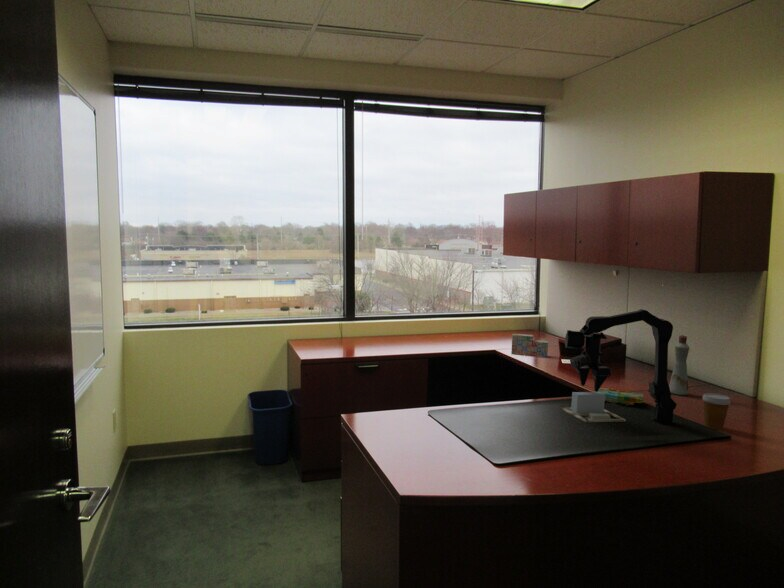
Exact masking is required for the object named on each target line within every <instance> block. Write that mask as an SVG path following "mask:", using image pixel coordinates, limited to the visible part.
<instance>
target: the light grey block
mask: <svg viewBox="0 0 784 588" xmlns="http://www.w3.org/2000/svg"><path fill="white" fill-rule="evenodd" d="M605 403H606V402H605V394H603V393H601V392H594V391H572V393H571V405H570V407H571V410H570V411H571V412H573V413H575V414H576V413H605V412H604V409H605Z"/></svg>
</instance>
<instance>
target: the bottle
mask: <svg viewBox="0 0 784 588" xmlns="http://www.w3.org/2000/svg"><path fill="white" fill-rule="evenodd" d="M687 340H688V336H686V335H684V334H681V335H678V342H677V343H676V344H675V346H674V353H675V355H674V356H675V361H674V365H673V369H672V373H671V377H670V381H669V383H668V384H669V387H670V393H671V394H673V395H676V394H677V396H683V395H686V396H687V395H688V394H689V379H688V378H689V377H688V365H687V359H688V355H689V352H690V346H689V345H688V344H687Z"/></svg>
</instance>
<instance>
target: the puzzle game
mask: <svg viewBox="0 0 784 588" xmlns="http://www.w3.org/2000/svg"><path fill="white" fill-rule="evenodd" d="M593 392H595V389H594V390H593ZM598 392H601V393H603V394H605V401H609V402H617V403H624V404H631V405H633V406H634V404H643V403H644V397H645V394H644V393H639V392H632V391H626V390H621V389H616V388H613V387H611V388H607V387H606V388H605V387H600V389H599V390H598Z"/></svg>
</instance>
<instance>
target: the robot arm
mask: <svg viewBox="0 0 784 588" xmlns="http://www.w3.org/2000/svg"><path fill="white" fill-rule="evenodd" d="M642 321H643V322H644V323H645V324H647V325H649V326H651V330H652V336H653V338H654V341H655V343H654V344H655V347H654V350H655V351H654V352H655V353H654V376H653V377H654V378H653V381H652V382H651V381H649V382H648V387H649V388H648V391H647V392H649V394H650V397H651V399H653V401H654V403H655V407H654V417H651V418H650V419H651V420H652V421H655V422H657V423H660V424H662V425H671V423H672V425H673V423H675V424H676V423H677V422H676V421H675V420H673V419H674V410H675V409H676V407H677V405H678V404H677V403H676V401H674V399H673V398H672V393H671V392H670V387H669V384H670V383H669V381H668V364H669V363H668V362H669V361H668V359H669V358H668V357H669V343H670V340H671V338H672V335H673V331H674V325H673V324H672V322H671V321H669V320H667V319H663V318H659V317H657V316H656V315H654V314H652V313H651V312H649V311H648V310H647V309H642V308H641V309H638V310H635V311H629V312H624V313H620V314H614V315H610V316H605V315H602V316H599V315H597V316H590V317H588V318H587V319H586V320H585V324H584V325H583V326H582V328H581V329H579V331H578V330H577V331H576V330H570V329H569V330H568V329H567V330H566V333H565V337H564V346H565V348H567V349H582V348H583V347H584V350H582V351H581V354H579V355H576V356H574V357H571V358H569V362H570V365H571V368H574V370H575V371H577V373H578V376H579V381H580V384H581V386H582V387H584V386H585V385H586V382H587V379H588V377H589V374H590V370H591V373H592V374H591V376H592V377H593V378H594V379H593V380H594V381H593V382H594V384H593V385H594V386H593V387H594V390H595V392H598V390H599V389H600V388H602V385H603V384H604V382H605V381H606V380H607V378H609V377H610V376H612V369H611V368H610V367H608V366H603V365H602V363H601V362H600V358H601V356H603V353H602V352H601V344H602V340H606V339H607V338H608V337H607V336H606V335H605V334H604V332H605V331H607V330H608V329H610V328H612V327H616V326H622V325H626V324H630V323H631V324H632V323H636V322H637V323H638V322H642Z"/></svg>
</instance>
